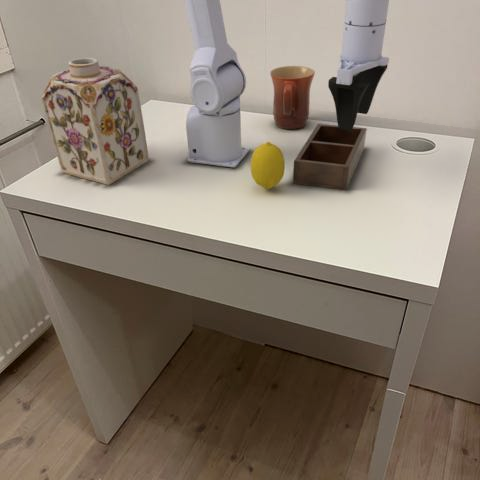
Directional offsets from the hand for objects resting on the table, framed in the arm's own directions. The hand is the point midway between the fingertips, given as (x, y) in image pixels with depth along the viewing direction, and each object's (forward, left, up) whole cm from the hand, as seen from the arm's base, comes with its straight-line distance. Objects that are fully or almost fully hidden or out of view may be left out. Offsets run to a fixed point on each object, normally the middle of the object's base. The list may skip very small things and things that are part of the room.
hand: (353, 120), depth 79 cm
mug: (-16, +21, -10) cm, 28 cm away
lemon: (-12, -7, -10) cm, 17 cm away
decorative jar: (-43, -7, -10) cm, 45 cm away
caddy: (-4, +5, -10) cm, 12 cm away
